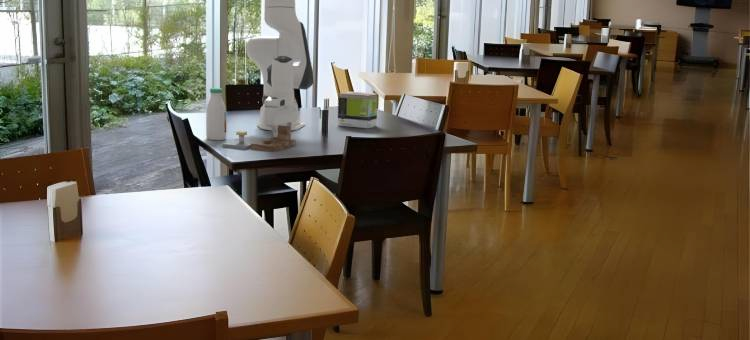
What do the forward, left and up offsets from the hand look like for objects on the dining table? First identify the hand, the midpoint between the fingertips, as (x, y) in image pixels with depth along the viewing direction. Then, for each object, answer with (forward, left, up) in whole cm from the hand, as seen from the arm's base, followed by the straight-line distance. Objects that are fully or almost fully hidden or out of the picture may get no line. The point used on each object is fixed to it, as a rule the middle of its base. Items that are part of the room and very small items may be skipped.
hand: (282, 135), depth 330 cm
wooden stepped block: (+7, 0, -4) cm, 7 cm away
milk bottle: (+5, -27, -4) cm, 28 cm away
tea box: (-56, +6, -4) cm, 57 cm away
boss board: (+7, -11, -4) cm, 14 cm away
